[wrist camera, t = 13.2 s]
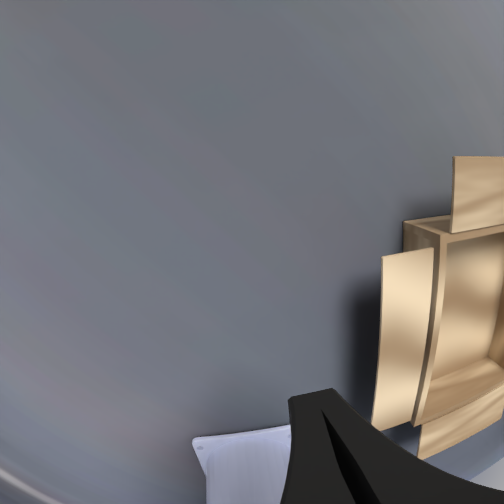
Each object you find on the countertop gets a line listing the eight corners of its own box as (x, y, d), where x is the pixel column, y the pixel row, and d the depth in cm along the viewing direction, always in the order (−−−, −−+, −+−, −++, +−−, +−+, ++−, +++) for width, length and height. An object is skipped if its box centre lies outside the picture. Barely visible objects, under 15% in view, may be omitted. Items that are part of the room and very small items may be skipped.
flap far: (422, 425, 18) (416, 462, 19) (509, 382, 19) (500, 418, 19) (421, 424, 18) (415, 460, 19) (507, 381, 19) (499, 417, 19)
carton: (509, 345, 23) (534, 364, 19) (352, 407, 22) (370, 442, 18) (530, 203, 19) (563, 212, 15) (352, 228, 18) (384, 244, 14)
